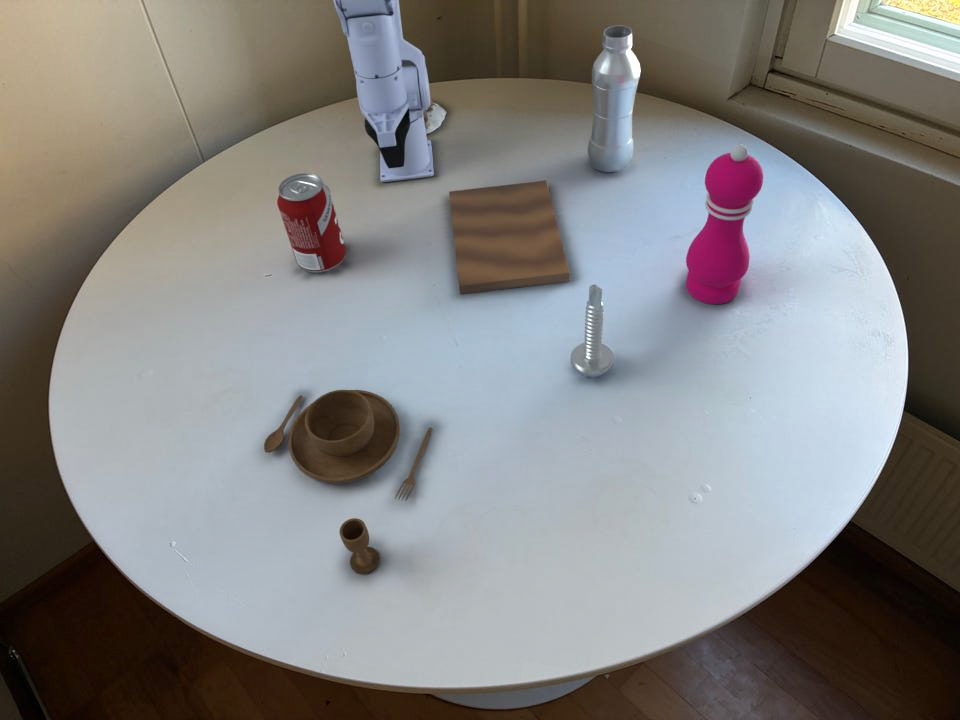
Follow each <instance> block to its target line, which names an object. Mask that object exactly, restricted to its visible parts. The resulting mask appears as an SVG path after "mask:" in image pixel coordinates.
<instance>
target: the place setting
mask: <svg viewBox="0 0 960 720" xmlns="http://www.w3.org/2000/svg"><path fill="white" fill-rule="evenodd" d="M302 399H303V395H299V396H298V397H296V399H295V401H294V402H293V404H292V405H291V407H290V409H289V411H288V412H287V414H286V415H285V417H284V419H283V421H282V422H281V424H280V425H279V427H278V428H277V429H275V430H274V431H272V432H271V433H270V434H269V435H268V436H267V437H266V438H265V439H264V443H263V450H264V452H265V453H273V452H274V451H275V450H277V449H278V448H279V447H280V446H281V445H282V443H283V441H284V438H285V432H284V430H285V427H286V426H287V424H288V422H289V420H290V419H291V417H292V416H293V414H294V413H295V411H296V410H297V408H298V407H299V405H300V404H301V401H302ZM432 430H433V427H432V426H431V427H430V426H429V427H428V429H427V430H426V433H425V435H424V437H423V438H422V439H423V440H422V442H421V443H420V447H419V449H418V452H417V453H416V457H415V459H414V461H413V464H412V467H411V469H410V471H409V474H408V477H407V478H405V479H404V480H403V481H402V483H401V485H400V487H399V489H398V491H397V493H396V494H395V497H394V500H396V499H397V501H399V500H400V499H401V501H403V500H404V498H405V497H406V498H405V500H404V502H406V501H408V499H409V497H410V495H411V493H412V492H413V489H414V487H415V484H416V482H415V479H414V476H415V474H416V470H417V468H418V467H419V464H420V461H421V459H422V456H423V454H424V451H425V449H426V446H427V444H428V442H429V439H430V437H431V434H432ZM400 435H401V426H400V419H399V416H398V413H397V411H396V409H395V408H394V407H393V405H392V404H391V403H390V402H389V401H388V400H387V399H385V398H384V397H383V396H381V395H379V394H377V393H374V392H372V391H368V390H362V389H337V390H332V391H329V392H326V393H324V394H322V395H320V396H319V397H318V398H316V399H315V400H314V401H312V402H311V403H310V404H309V405H307V407H305V408H304V409H303V410H302V411H301V412H300V413H299V414H298V416H297V417H296V418H295V420H294V422H293V423H292V426H291V427H290V431H289V434H288V441H287V442H288V443H287V445H288V451H289V455H290V458H291V460H292V462H293V463H294V465H295V466H296V467H297V469H298V470H299V471H300V472H302V473H303V474H304V475H305V476H306V477H308V478H310V479H312V480H315V481H317V482H321V483H324V484H330V485H342V484H343V485H344V484H349V483H354V482H357V481H360V480H363V479H365V478H368V477H369V476H371V475H373V474H375V473H376V472H377V471H378V470H380V469H381V468H382V467H383V466H385V465H386V463H387V462H388V461H389V460H390V459H391V458H392V457H393V455H394V453H395V451H396V449H397V446H398V444H399V441H400ZM406 495H407V496H406ZM397 497H398V498H397ZM401 497H402V498H401ZM339 536H340V540H341V541H342V543H343V546H344V547H345V548H346V549H347V551H349V552H351V553H352V554H351V556H350V559H349V566H350V568H351V570H352V571H353V572H355V573H356V574H359V575H367V574H370V573H371V572H373V571H374V570H375V569H377V567H378V566H379V563H380V554H379V552H378V551H377V549H375V548H374V547H373V546H369V544H370V534H369V530H368V528H367V525H366V523H365V522H364V521H363V519H361V518H357V517H353V518H349V519H346V520H345V521H344V522H343V523H342V524H341V526H340V527H339Z"/></svg>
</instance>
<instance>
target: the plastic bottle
mask: <svg viewBox="0 0 960 720" xmlns="http://www.w3.org/2000/svg"><path fill="white" fill-rule="evenodd" d="M633 43H634V41H633V30H632V28H631V27H629V26H626V25H611V26H609V27H607V28H605V29H604V30H603V34H602V43H601V46H602V51H601V52H600V54H599V55H598V56H597V57H596V59H595V60H594V62H593V65H592V68H591V71H590V72H591V86H592V94H593V118H592V123H591V124H592V125H591V132H590V136H589V140H588V144H587V158H588V162H589V164H590V165H591V166H592V167H593V168H594V169H595V170H597V171H599V172H603V173H615V172H618V171H619V172H620V171H621V170H623V169H625V168H626V167H627V166H628V165H629V164H630V162H631V161H632V158H633V154H634V151H635V150H634V149H635V147H634V136H633V113H634V112H633V111H634V105H635V99H636V94H637V90H638V85H639V81H640V78H641V71H642V70H641V64H640V60H639V59H638V58H637V56H636V54H635V53H634V51H633V50H632V47H633V45H634V44H633Z"/></svg>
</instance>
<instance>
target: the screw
mask: <svg viewBox="0 0 960 720" xmlns="http://www.w3.org/2000/svg"><path fill="white" fill-rule="evenodd" d="M602 298H603V288H601V287H600V286H598V285H597V284H592V285H590V286H589V287H588V301H586V306H585V316H584V317H585V319H584V320H585V323H584V342H582V343H580V344H578V345H576V346H575V347H574V348H573V349H572V350H571V353H570V359H569V361H570V364H571V366H572V368H573V369H574V370H575V371H576V372H578V373H579V374H582V375H583V376H584V378H587V379H589V378H592V379H599V378H600V376H603V375H604V374H607V373H608V372H609V371H610V370H611V369H613V367H614V365H615V364H614V363H615V355H614V352H613V350H612V349H611V348H610V347H609V346H607V345H606V344H604V343H603V341H602V340H603V330H604V329H603V328H604V325H603V324H604V312H605V310H604V303H603V302H602V301H603V300H602Z"/></svg>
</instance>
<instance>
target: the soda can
mask: <svg viewBox="0 0 960 720" xmlns="http://www.w3.org/2000/svg"><path fill="white" fill-rule="evenodd" d="M277 190H278V197H277V201H276V203H277V207H278V210H279V214H280V216H281V219H282V222H283V226H284V229H285V231H286V234H287V237H288V241H289V243H290V248H291V249H292V253H293V255H294V258H295V263H296V264H297V266H298V268H300V269H301V270H303V271H305V272H308V273H324V272H328V271H330V270H333V269H334V268H337V267H338V266H340V264H342V263H343V261H344V260H345V258H346V256H347V249H346V244H345V241H344V237H343V234H342V233H343V232H342V230H341V225H340V222H339V219H338V215H337V210H336V208H335V204H334V200H333V196H332V192H331V190H330V188H329V187H328V185H326V184H325V183H323V179H322V178H321V176H319V175H318V174H315V173H312V172H300V173H295V174H292V175H289V176H288V177H286V178H285V179H283V180H282V181H281V182H280V183H279V186H278V189H277Z"/></svg>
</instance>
